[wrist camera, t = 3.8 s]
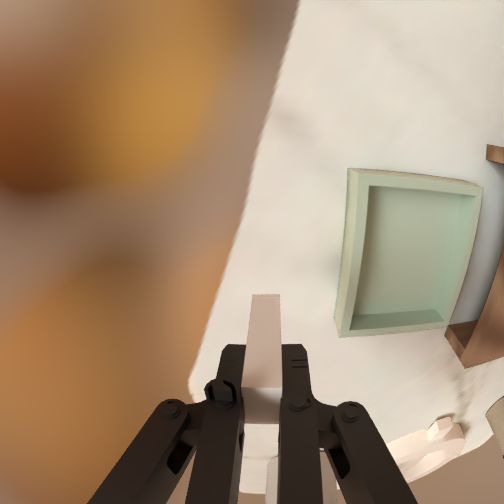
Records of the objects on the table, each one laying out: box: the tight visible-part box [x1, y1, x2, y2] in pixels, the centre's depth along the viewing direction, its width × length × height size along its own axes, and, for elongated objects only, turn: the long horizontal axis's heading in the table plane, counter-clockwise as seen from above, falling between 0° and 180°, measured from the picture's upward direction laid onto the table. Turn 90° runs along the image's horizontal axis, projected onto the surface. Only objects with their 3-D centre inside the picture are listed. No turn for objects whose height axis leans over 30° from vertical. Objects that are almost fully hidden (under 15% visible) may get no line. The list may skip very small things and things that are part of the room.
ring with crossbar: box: [386, 417, 466, 483], centre depth 39 cm, size 28×28×5 cm
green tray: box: [334, 168, 483, 338], centre depth 21 cm, size 14×12×3 cm
